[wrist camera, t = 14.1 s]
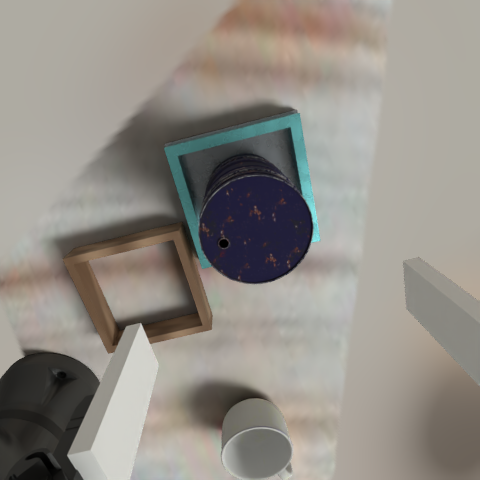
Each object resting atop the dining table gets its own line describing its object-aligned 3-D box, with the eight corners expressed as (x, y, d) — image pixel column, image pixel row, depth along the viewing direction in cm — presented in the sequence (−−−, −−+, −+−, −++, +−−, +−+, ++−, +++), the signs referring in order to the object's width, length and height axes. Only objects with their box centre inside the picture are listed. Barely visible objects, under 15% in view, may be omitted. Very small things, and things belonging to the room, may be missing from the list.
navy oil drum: (272, 140, 39) (298, 155, 25) (293, 215, 43) (327, 265, 29) (194, 168, 40) (177, 197, 26) (221, 239, 43) (219, 299, 29)
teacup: (209, 404, 55) (207, 449, 48) (267, 377, 53) (273, 420, 46) (249, 453, 60) (252, 502, 52) (303, 430, 58) (314, 477, 51)
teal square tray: (202, 260, 45) (200, 271, 42) (165, 143, 40) (160, 145, 36) (315, 232, 45) (323, 242, 41) (295, 109, 39) (301, 109, 36)
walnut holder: (115, 337, 49) (108, 353, 46) (74, 248, 44) (62, 259, 41) (212, 315, 49) (211, 329, 45) (182, 221, 43) (178, 230, 40)
